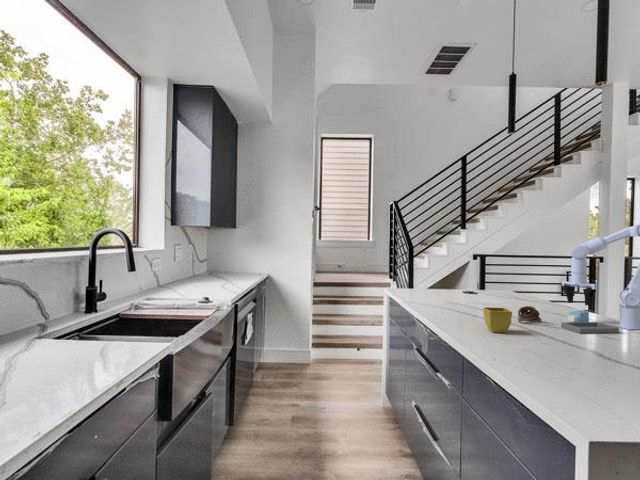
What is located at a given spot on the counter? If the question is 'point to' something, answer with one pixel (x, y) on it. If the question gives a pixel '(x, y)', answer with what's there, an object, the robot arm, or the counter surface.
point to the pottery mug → (528, 314)
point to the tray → (589, 327)
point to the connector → (578, 316)
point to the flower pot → (497, 319)
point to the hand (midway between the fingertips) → (578, 303)
